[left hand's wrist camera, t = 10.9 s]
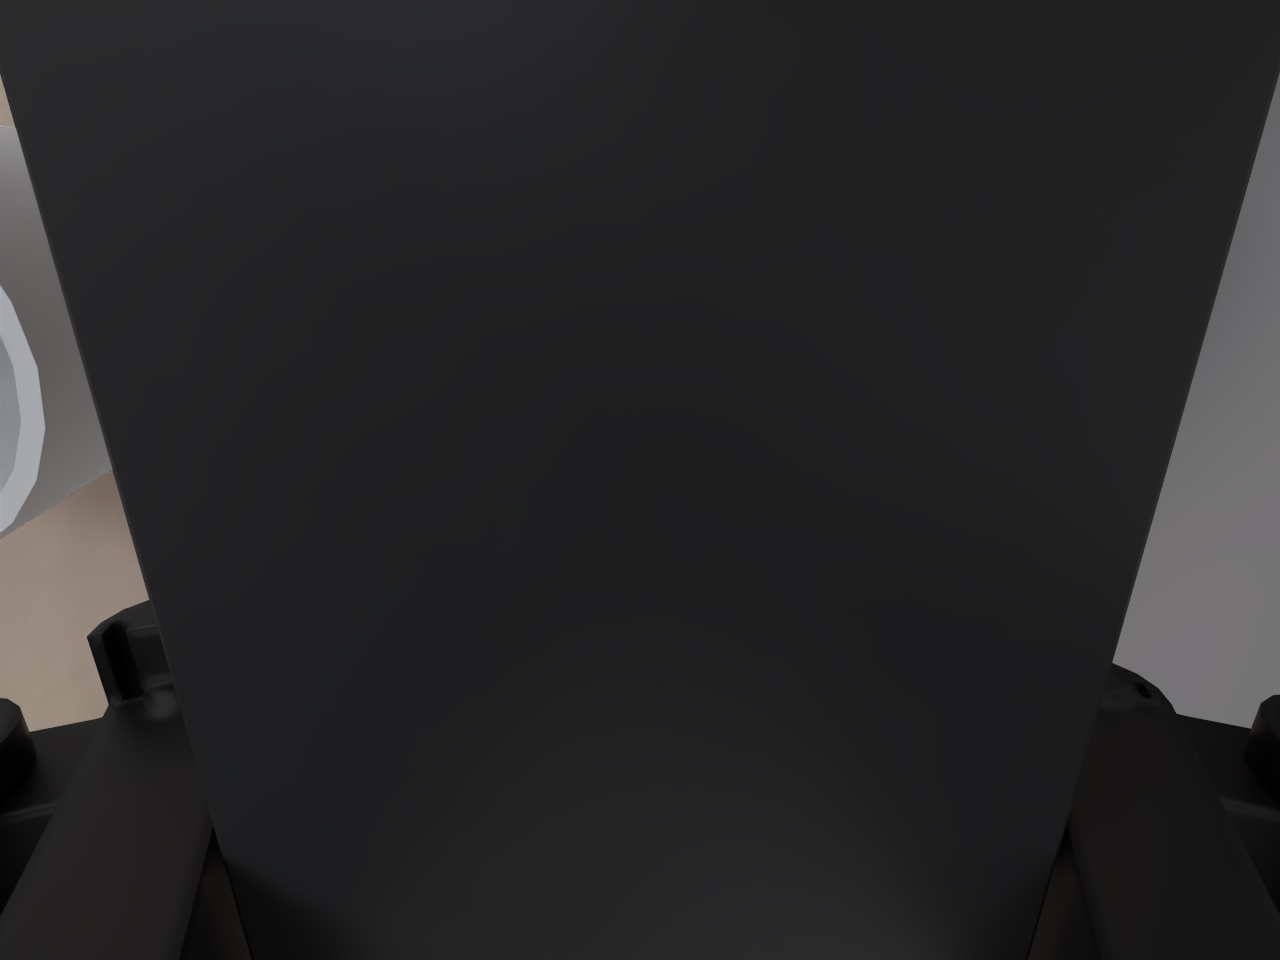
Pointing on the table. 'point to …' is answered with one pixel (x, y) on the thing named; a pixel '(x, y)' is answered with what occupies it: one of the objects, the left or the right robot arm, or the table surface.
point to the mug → (37, 364)
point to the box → (639, 439)
